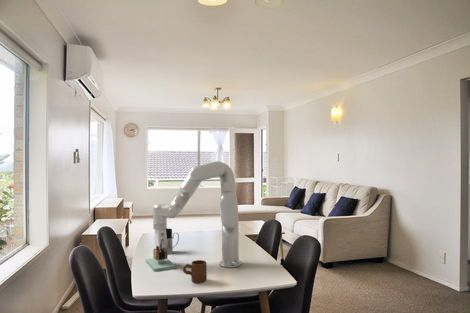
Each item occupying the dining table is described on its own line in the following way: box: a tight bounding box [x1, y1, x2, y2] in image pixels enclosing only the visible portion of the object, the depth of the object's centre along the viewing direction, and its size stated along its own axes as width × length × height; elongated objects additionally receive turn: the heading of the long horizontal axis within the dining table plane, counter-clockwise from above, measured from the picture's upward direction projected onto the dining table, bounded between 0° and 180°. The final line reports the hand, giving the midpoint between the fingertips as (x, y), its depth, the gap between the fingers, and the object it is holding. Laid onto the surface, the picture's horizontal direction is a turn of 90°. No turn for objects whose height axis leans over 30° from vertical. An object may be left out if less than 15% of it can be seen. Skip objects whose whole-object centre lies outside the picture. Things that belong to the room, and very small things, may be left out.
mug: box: [182, 259, 208, 284], centre depth 174 cm, size 12×8×9 cm, turn 112°
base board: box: [145, 257, 176, 272], centre depth 202 cm, size 20×12×2 cm, turn 27°
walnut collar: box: [152, 248, 168, 260], centre depth 202 cm, size 6×6×5 cm
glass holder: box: [165, 228, 180, 256], centre depth 227 cm, size 9×14×15 cm, turn 64°
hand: (160, 257), depth 202 cm, fingers closed on walnut collar, 6 cm apart
